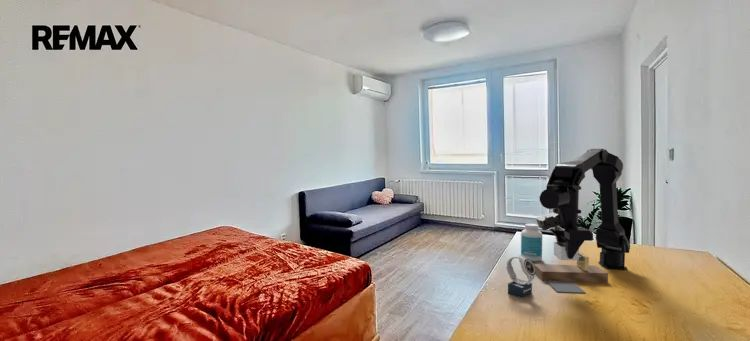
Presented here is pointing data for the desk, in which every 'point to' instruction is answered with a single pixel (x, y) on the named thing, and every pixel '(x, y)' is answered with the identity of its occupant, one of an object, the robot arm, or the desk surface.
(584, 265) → the tan wooden flat block
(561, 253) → the grey knobbed cube
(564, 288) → the pad
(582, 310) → the desk surface
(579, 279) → the body
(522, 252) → the pill bottle
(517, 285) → the watch
